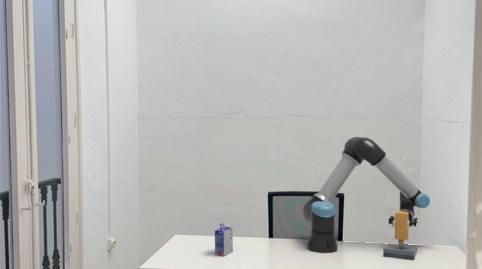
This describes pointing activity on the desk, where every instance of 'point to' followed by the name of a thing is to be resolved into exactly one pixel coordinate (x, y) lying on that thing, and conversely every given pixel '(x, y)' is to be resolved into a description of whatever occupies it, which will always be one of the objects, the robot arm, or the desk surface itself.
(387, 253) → the plate
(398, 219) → the orange tan rectangular block
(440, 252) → the desk surface
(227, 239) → the ink cartridge box
